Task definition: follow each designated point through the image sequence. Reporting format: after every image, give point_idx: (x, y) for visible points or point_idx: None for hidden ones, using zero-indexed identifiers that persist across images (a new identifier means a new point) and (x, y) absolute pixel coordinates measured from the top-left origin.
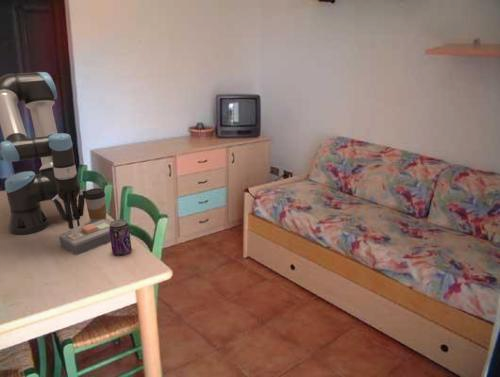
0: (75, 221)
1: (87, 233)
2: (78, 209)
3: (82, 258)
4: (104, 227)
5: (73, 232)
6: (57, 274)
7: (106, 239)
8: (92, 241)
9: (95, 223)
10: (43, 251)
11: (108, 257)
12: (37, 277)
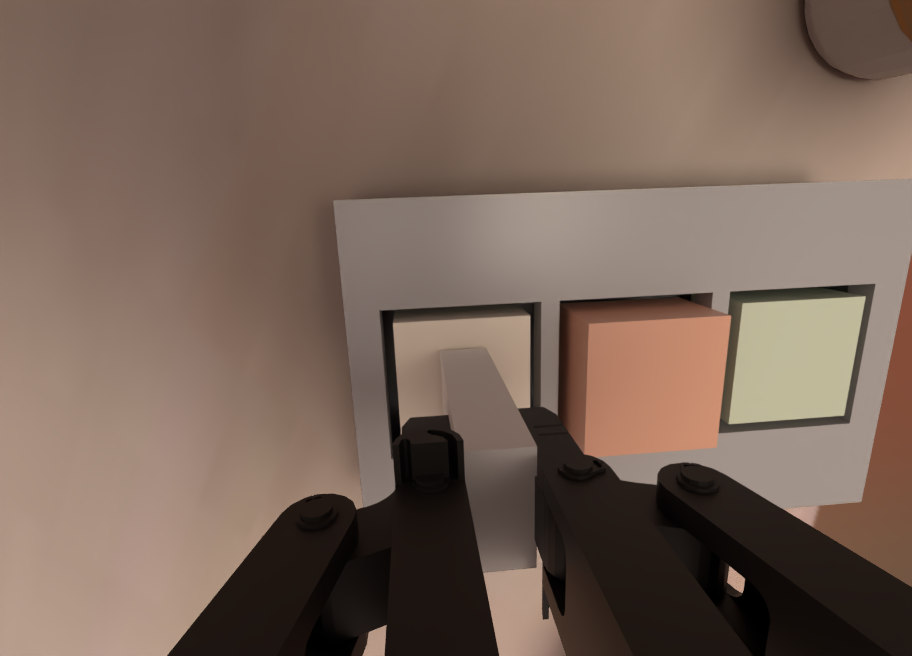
0: (502, 556)
1: (573, 438)
2: (756, 581)
3: None
4: (776, 412)
5: (445, 410)
6: (154, 644)
7: None
8: None
9: (796, 223)
10: (172, 197)
11: (524, 650)
12: (16, 598)
